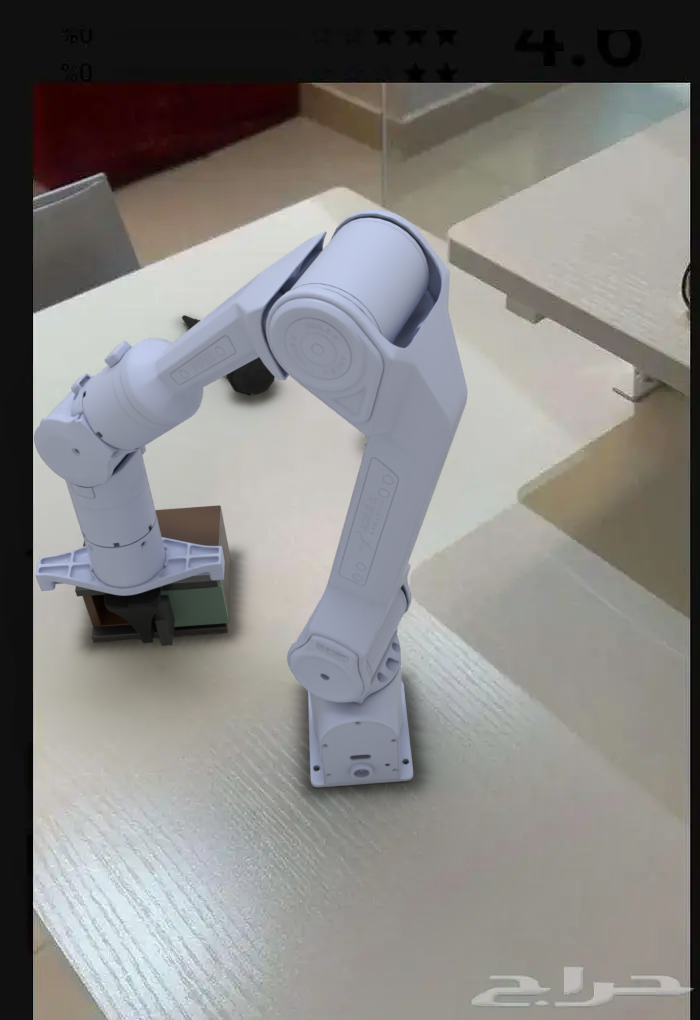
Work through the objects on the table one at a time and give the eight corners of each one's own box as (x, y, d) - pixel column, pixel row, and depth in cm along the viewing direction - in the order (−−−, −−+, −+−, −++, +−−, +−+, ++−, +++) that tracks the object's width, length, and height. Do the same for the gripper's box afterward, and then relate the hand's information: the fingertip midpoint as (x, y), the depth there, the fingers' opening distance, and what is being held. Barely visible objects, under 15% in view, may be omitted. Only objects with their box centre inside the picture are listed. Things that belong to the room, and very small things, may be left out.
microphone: (177, 348, 131) (255, 413, 117) (154, 313, 127) (231, 376, 113) (212, 321, 131) (292, 382, 117) (190, 286, 127) (271, 345, 113)
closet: (227, 633, 94) (216, 580, 89) (92, 642, 94) (74, 590, 89) (230, 557, 100) (220, 504, 96) (104, 567, 100) (88, 514, 95)
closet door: (227, 648, 91) (220, 612, 88) (156, 653, 91) (146, 617, 88) (229, 617, 94) (221, 581, 90) (159, 623, 94) (149, 587, 90)
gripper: (216, 479, 83) (236, 592, 92) (31, 490, 83) (70, 603, 92) (212, 544, 78) (233, 657, 87) (15, 556, 78) (58, 668, 87)
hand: (149, 633), depth 90 cm, fingers closed
